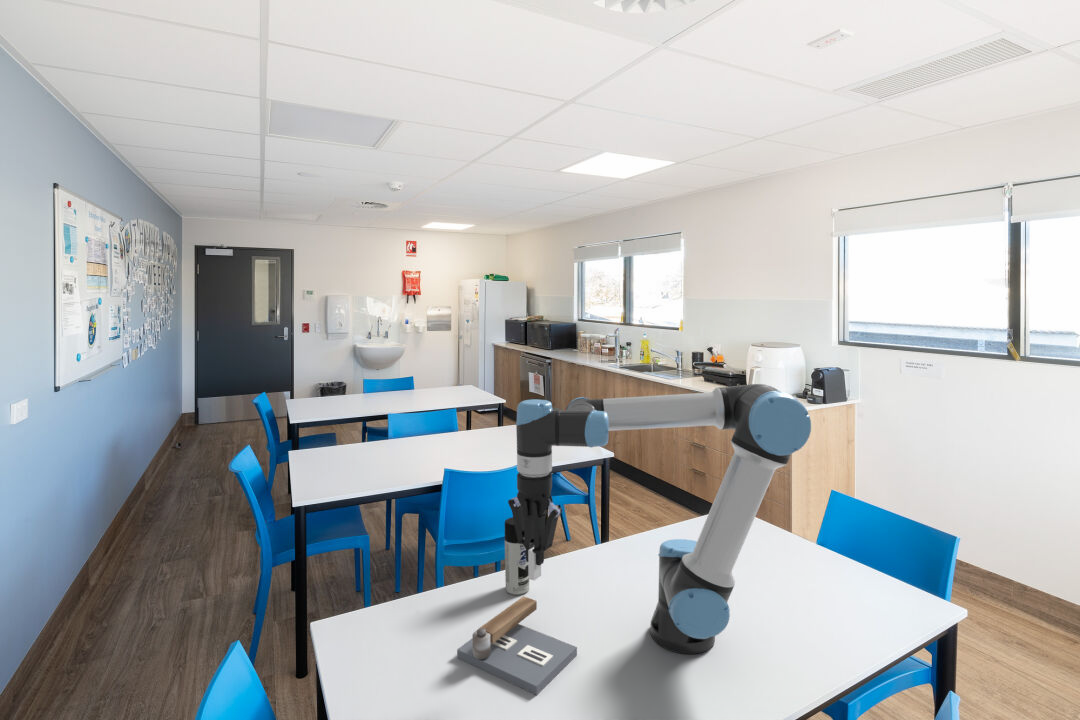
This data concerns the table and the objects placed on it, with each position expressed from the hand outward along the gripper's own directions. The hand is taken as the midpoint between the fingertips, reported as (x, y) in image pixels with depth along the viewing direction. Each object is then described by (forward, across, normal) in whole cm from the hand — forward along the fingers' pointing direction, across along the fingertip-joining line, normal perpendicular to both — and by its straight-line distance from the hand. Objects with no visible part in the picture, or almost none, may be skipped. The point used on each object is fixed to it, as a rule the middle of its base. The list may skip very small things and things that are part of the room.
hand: (534, 577), depth 125 cm
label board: (+20, -5, 0) cm, 21 cm away
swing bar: (+18, -10, +2) cm, 21 cm away
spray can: (+21, -23, +24) cm, 39 cm away
